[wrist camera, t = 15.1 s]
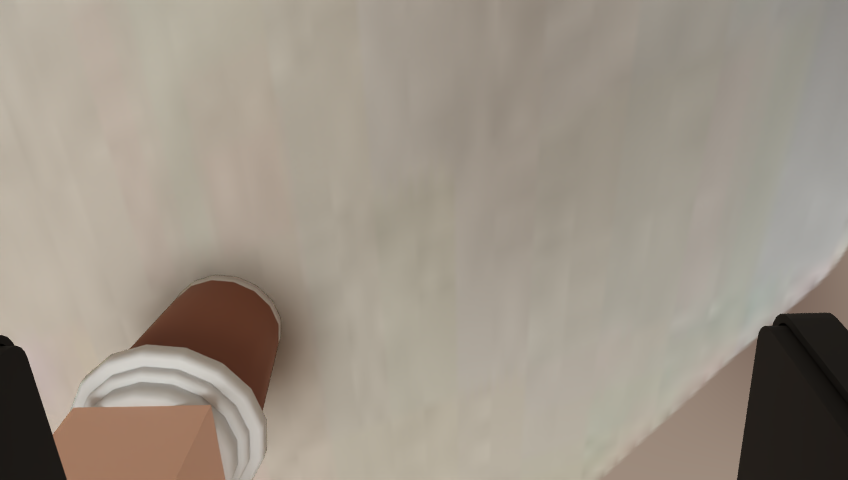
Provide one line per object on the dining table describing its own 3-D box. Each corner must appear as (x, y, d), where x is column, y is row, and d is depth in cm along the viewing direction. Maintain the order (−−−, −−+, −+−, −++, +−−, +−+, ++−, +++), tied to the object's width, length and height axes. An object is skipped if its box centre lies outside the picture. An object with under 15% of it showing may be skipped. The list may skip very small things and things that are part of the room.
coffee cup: (131, 261, 43) (21, 384, 32) (288, 246, 42) (230, 366, 31) (172, 393, 46) (86, 545, 35) (317, 381, 46) (274, 532, 35)
